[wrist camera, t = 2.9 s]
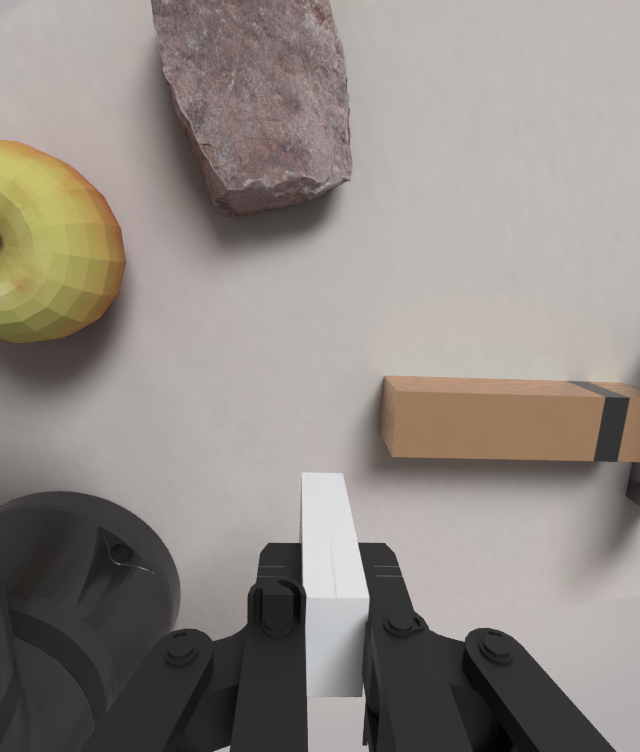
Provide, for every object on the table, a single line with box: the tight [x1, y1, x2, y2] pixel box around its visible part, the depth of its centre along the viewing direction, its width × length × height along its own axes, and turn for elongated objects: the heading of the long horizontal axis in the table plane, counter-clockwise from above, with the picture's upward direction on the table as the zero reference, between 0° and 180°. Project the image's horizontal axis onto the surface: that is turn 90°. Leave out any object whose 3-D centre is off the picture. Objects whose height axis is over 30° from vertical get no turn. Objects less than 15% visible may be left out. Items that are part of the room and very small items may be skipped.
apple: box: [0, 140, 126, 343], centre depth 23 cm, size 10×10×8 cm
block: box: [380, 376, 640, 462], centre depth 29 cm, size 16×4×4 cm, turn 87°
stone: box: [151, 0, 352, 216], centre depth 24 cm, size 12×9×5 cm
